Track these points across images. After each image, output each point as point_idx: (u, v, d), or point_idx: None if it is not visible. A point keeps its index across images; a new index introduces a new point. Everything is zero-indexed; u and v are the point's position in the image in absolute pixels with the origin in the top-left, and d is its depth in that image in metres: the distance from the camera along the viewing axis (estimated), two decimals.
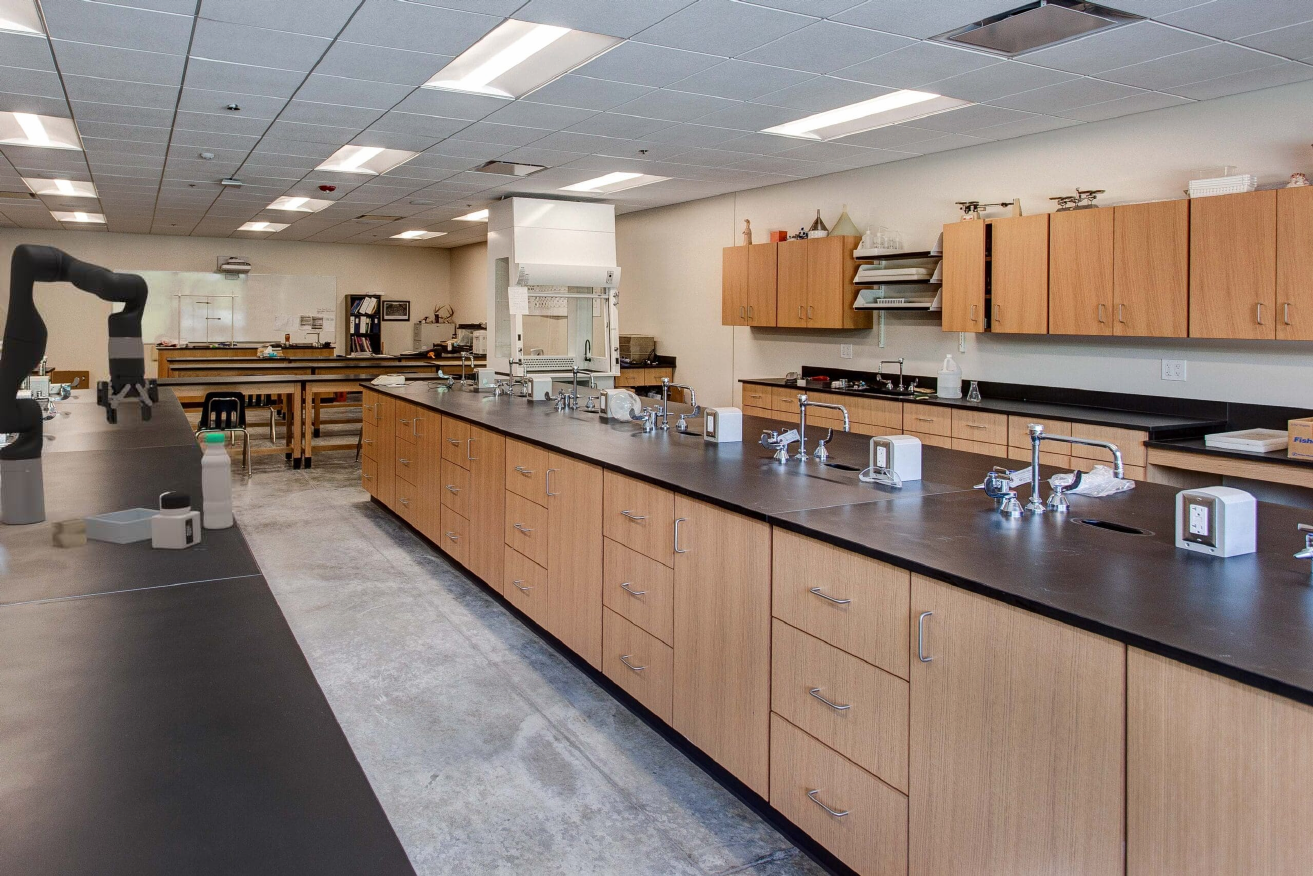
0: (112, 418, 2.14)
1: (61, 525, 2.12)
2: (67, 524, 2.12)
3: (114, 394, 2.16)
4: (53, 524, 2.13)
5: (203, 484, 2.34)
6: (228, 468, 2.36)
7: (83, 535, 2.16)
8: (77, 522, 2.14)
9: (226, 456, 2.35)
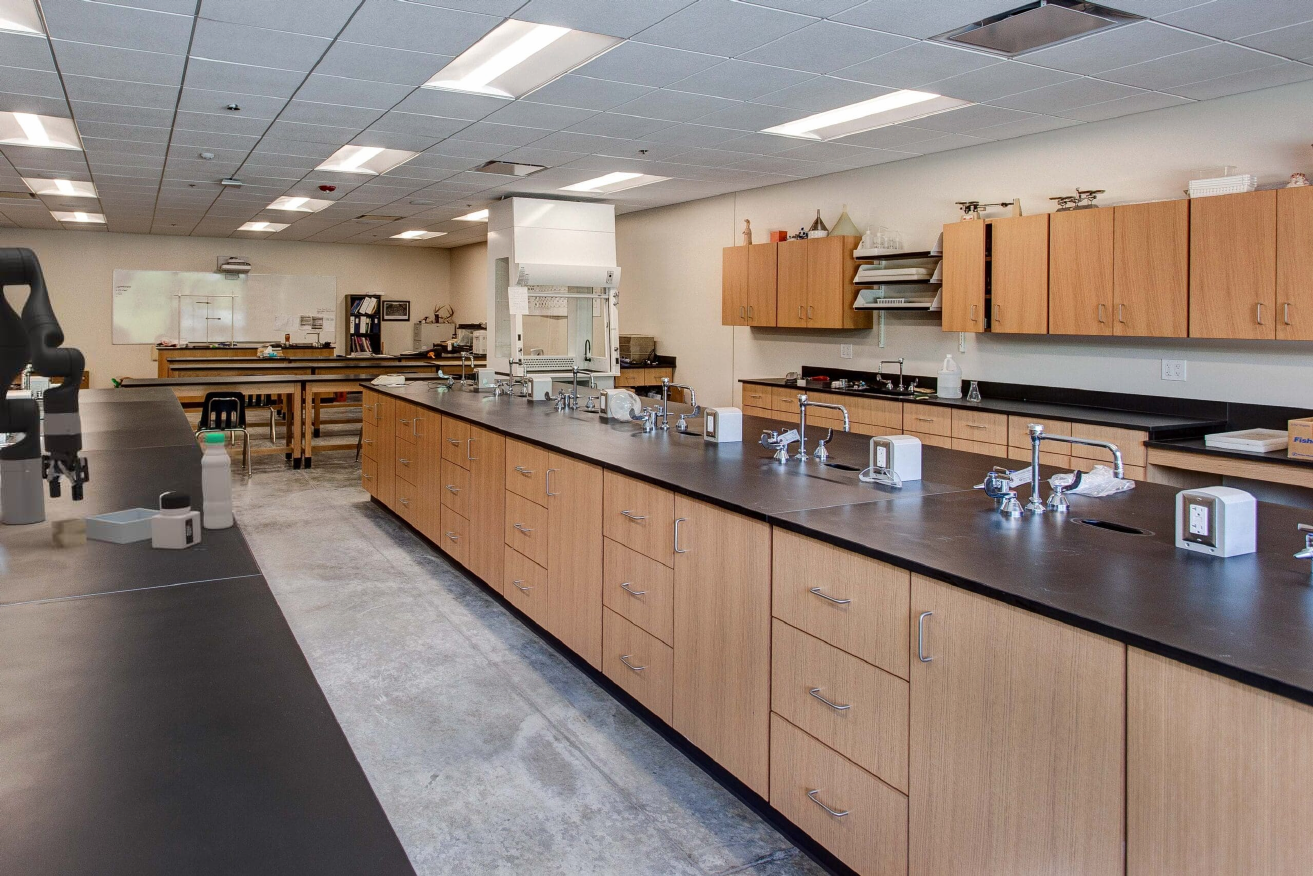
0: None
1: (61, 525, 2.12)
2: (67, 524, 2.12)
3: None
4: (53, 524, 2.13)
5: (203, 484, 2.34)
6: (228, 468, 2.36)
7: (83, 535, 2.16)
8: (77, 522, 2.14)
9: (226, 456, 2.35)
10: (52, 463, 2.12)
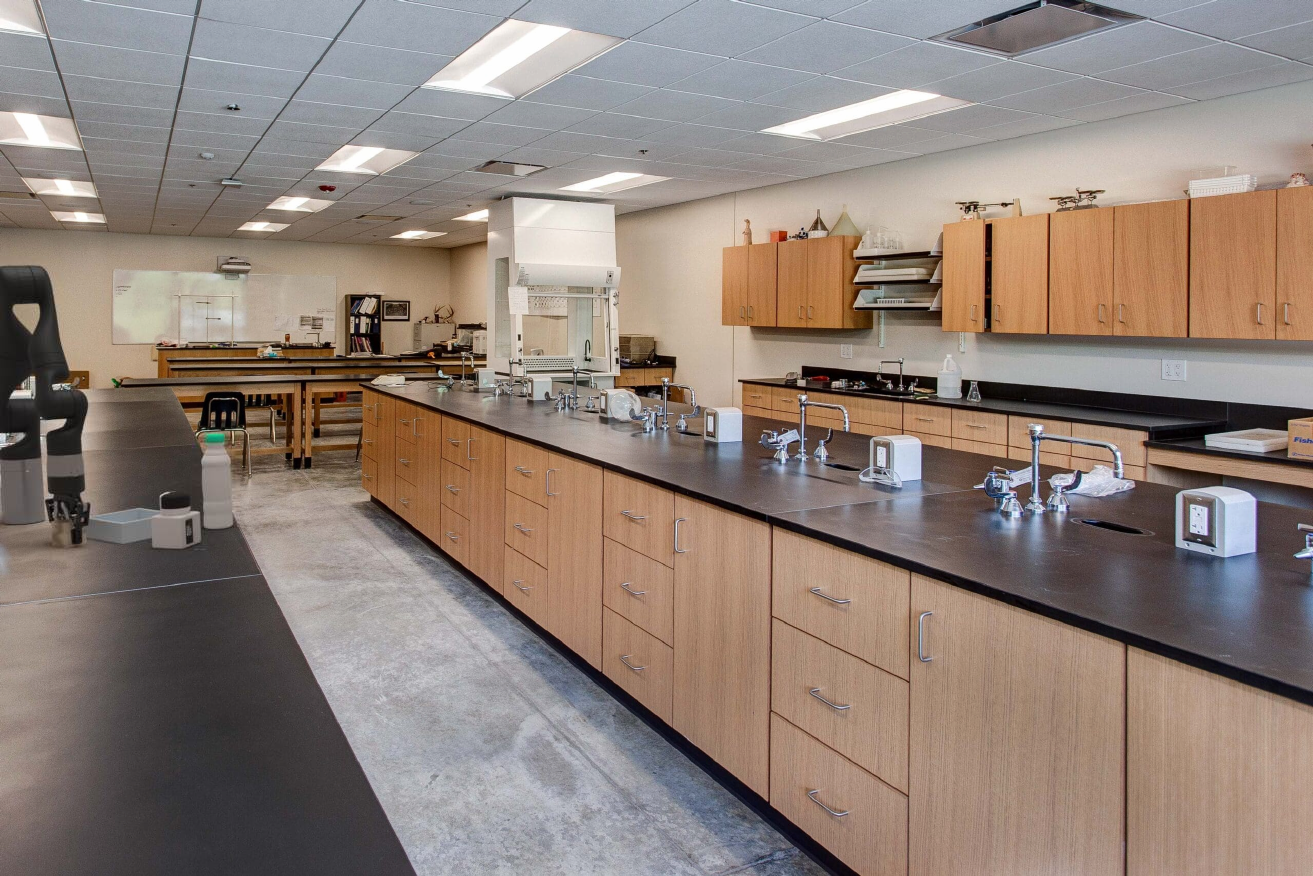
0: None
1: (60, 525, 2.12)
2: (67, 524, 2.12)
3: None
4: (53, 524, 2.13)
5: (203, 484, 2.34)
6: (228, 468, 2.36)
7: (83, 535, 2.16)
8: None
9: (226, 456, 2.35)
10: (55, 504, 2.13)
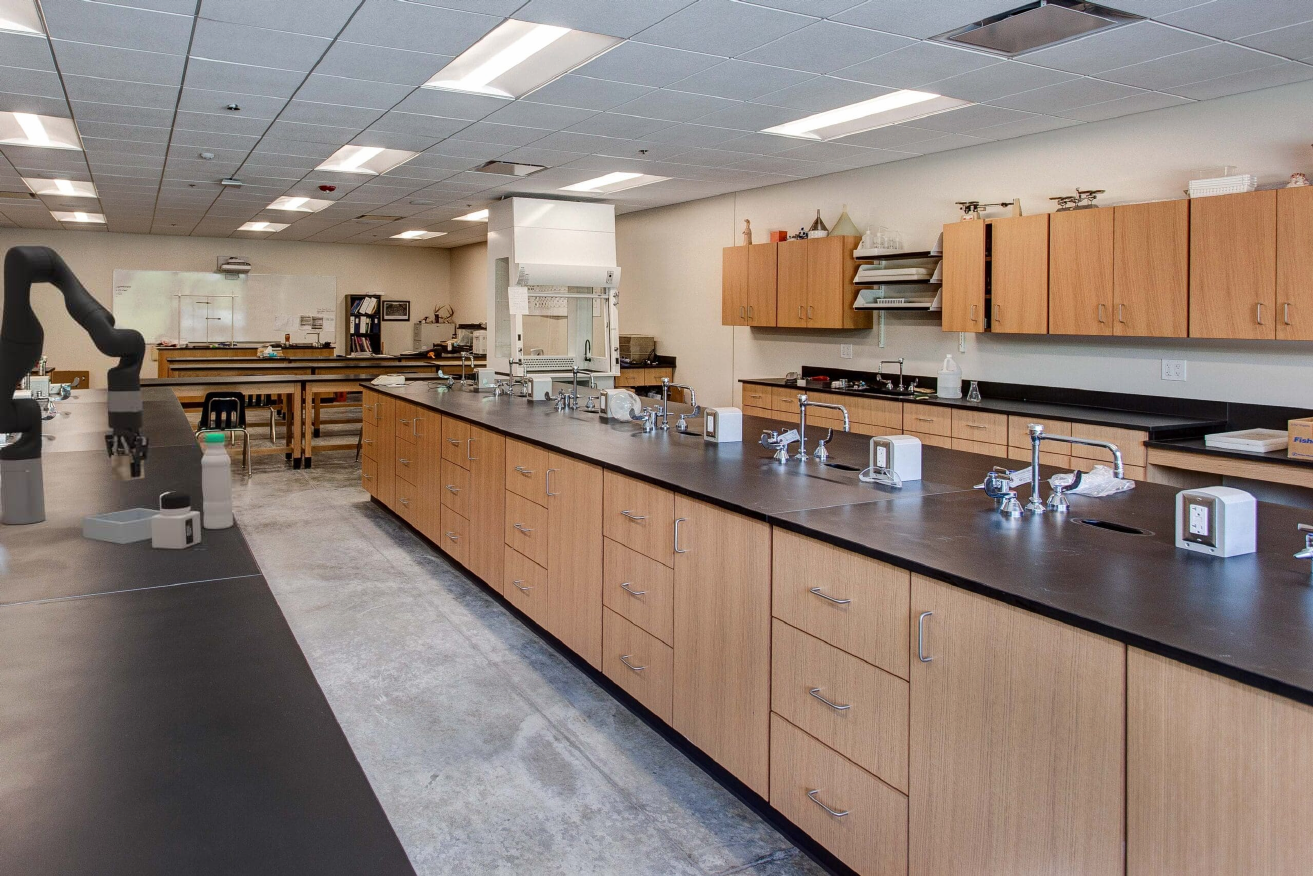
0: None
1: (120, 458, 2.22)
2: (126, 457, 2.22)
3: None
4: (113, 458, 2.23)
5: (203, 484, 2.34)
6: (228, 468, 2.36)
7: (141, 469, 2.25)
8: None
9: (226, 456, 2.35)
10: (115, 439, 2.23)
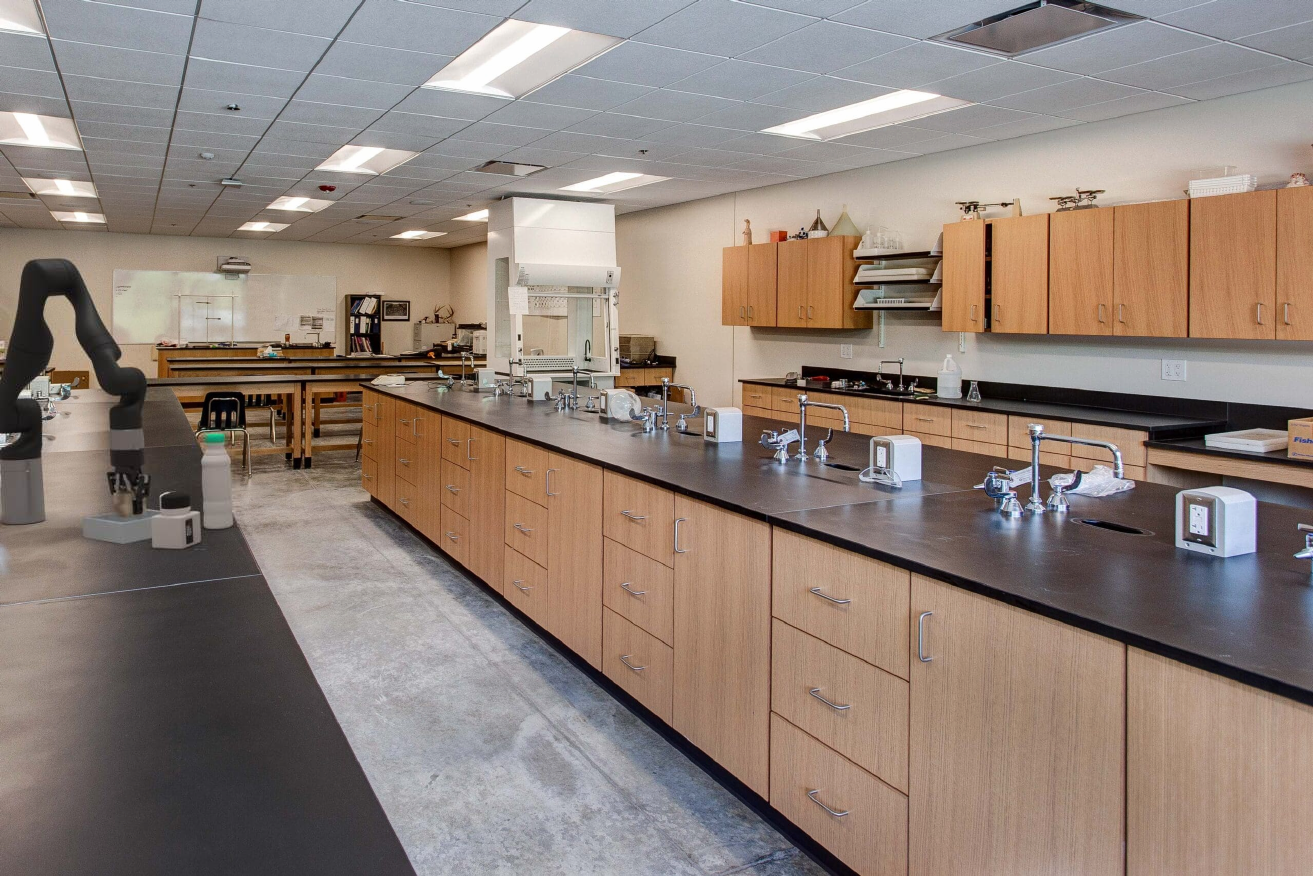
0: None
1: (123, 496, 2.23)
2: (129, 495, 2.23)
3: None
4: (115, 495, 2.24)
5: (203, 484, 2.34)
6: (228, 468, 2.36)
7: (143, 506, 2.26)
8: None
9: (226, 456, 2.35)
10: (117, 476, 2.24)
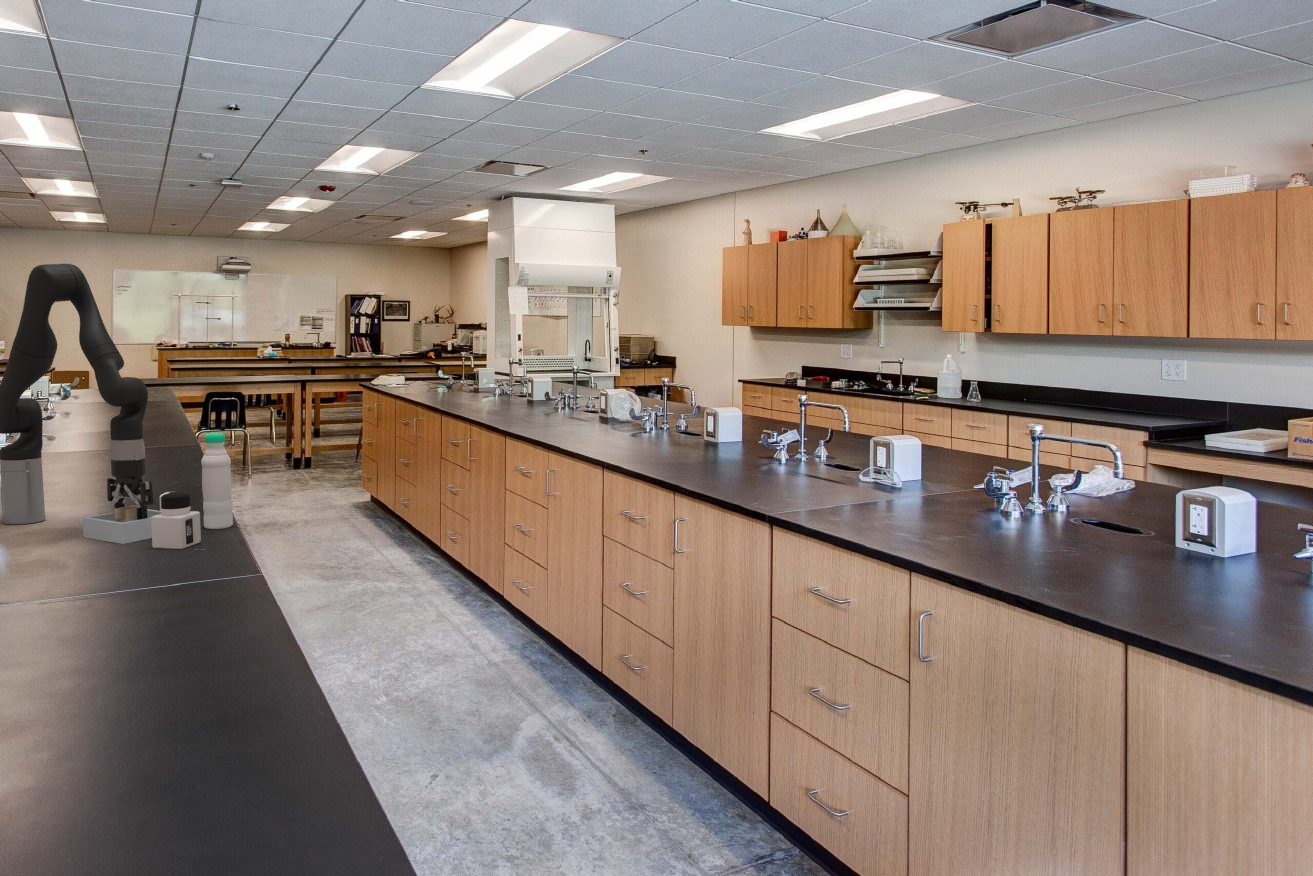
0: None
1: (124, 512, 2.23)
2: (130, 511, 2.23)
3: None
4: (116, 511, 2.25)
5: (203, 484, 2.34)
6: (228, 468, 2.36)
7: None
8: None
9: (226, 456, 2.35)
10: (118, 487, 2.24)
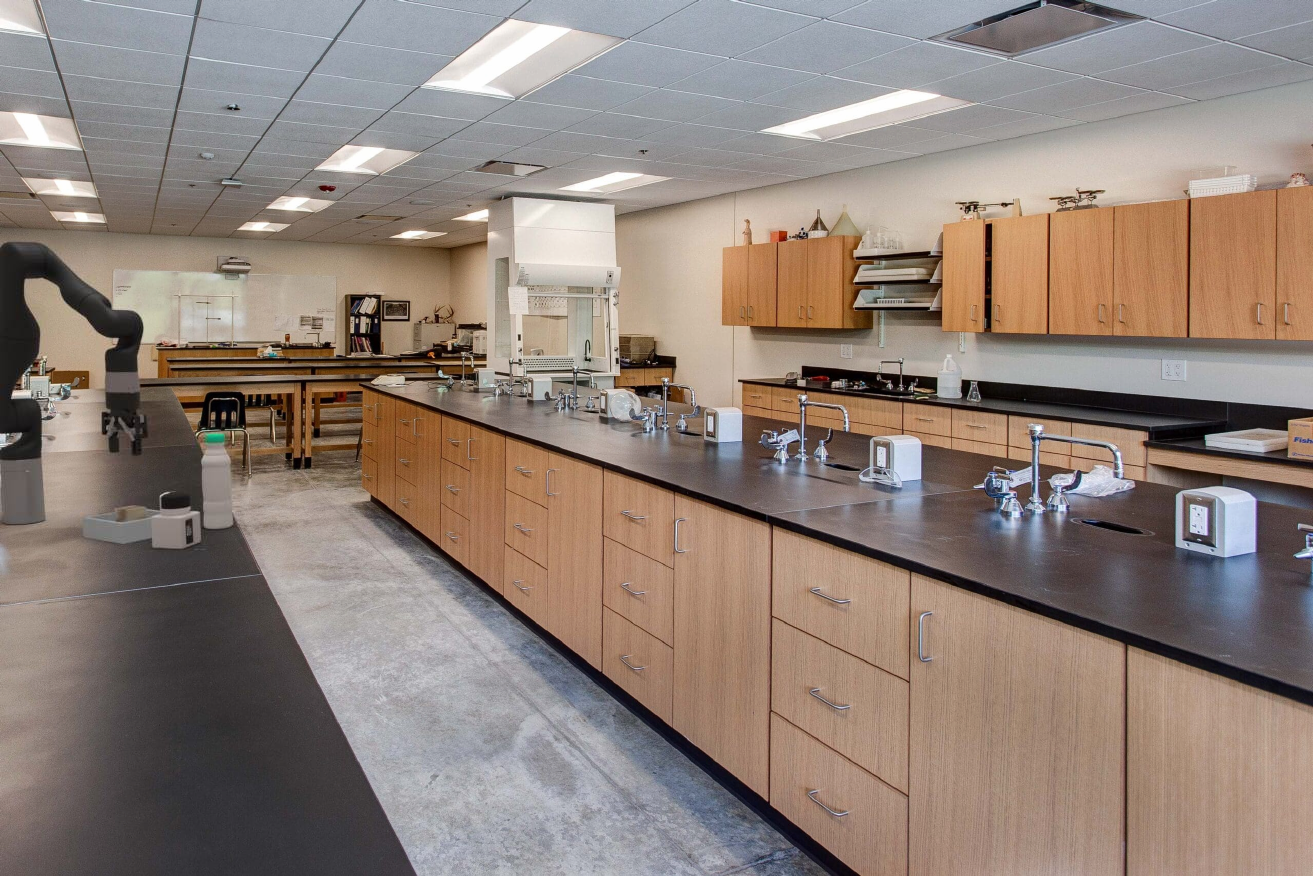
0: None
1: (124, 512, 2.23)
2: (130, 511, 2.23)
3: None
4: (116, 511, 2.25)
5: (203, 484, 2.34)
6: (228, 468, 2.36)
7: None
8: (139, 509, 2.26)
9: (226, 456, 2.35)
10: (112, 419, 2.23)
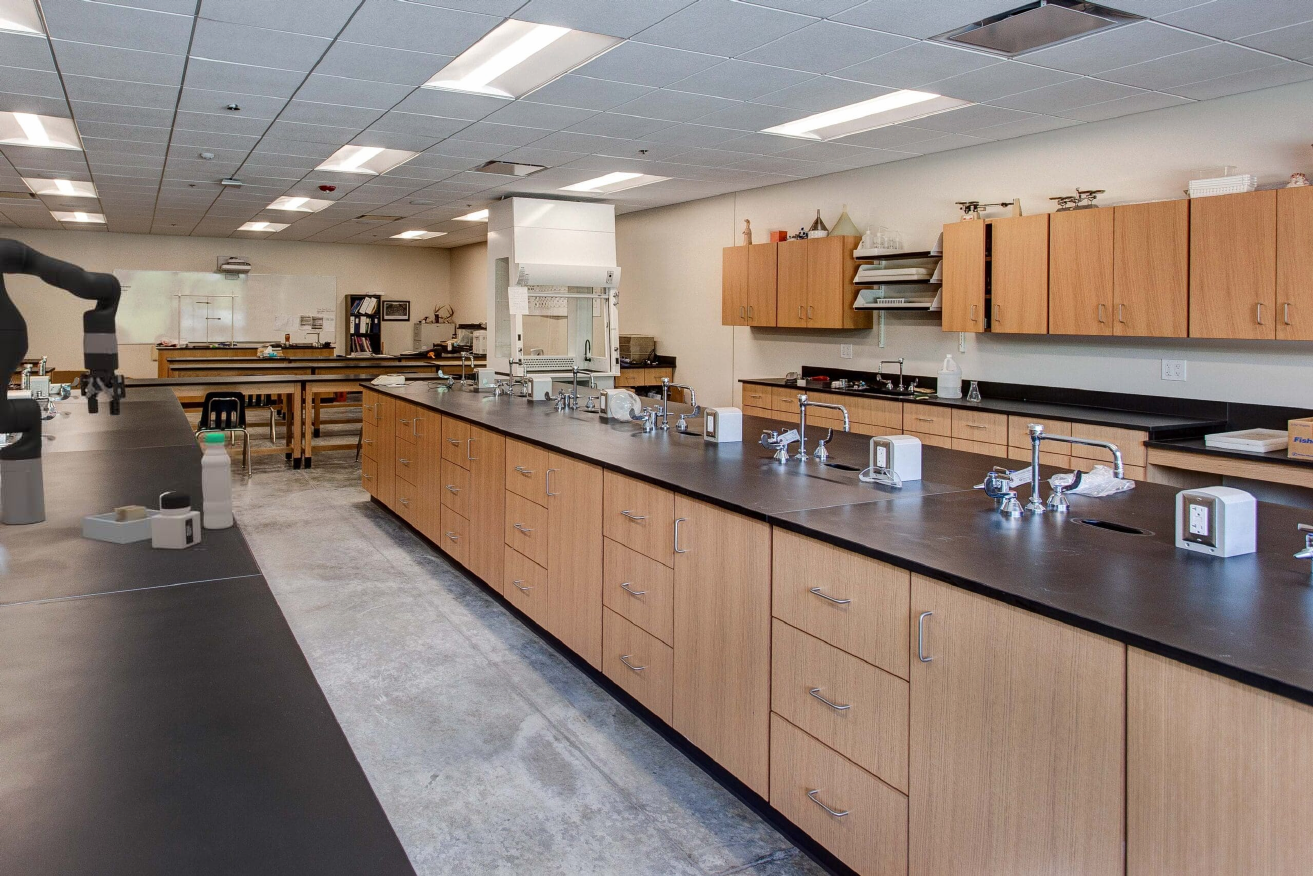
0: None
1: (124, 512, 2.23)
2: (130, 511, 2.23)
3: None
4: (116, 511, 2.25)
5: (203, 484, 2.34)
6: (228, 468, 2.36)
7: None
8: (139, 509, 2.26)
9: (226, 456, 2.35)
10: (91, 380, 2.28)
